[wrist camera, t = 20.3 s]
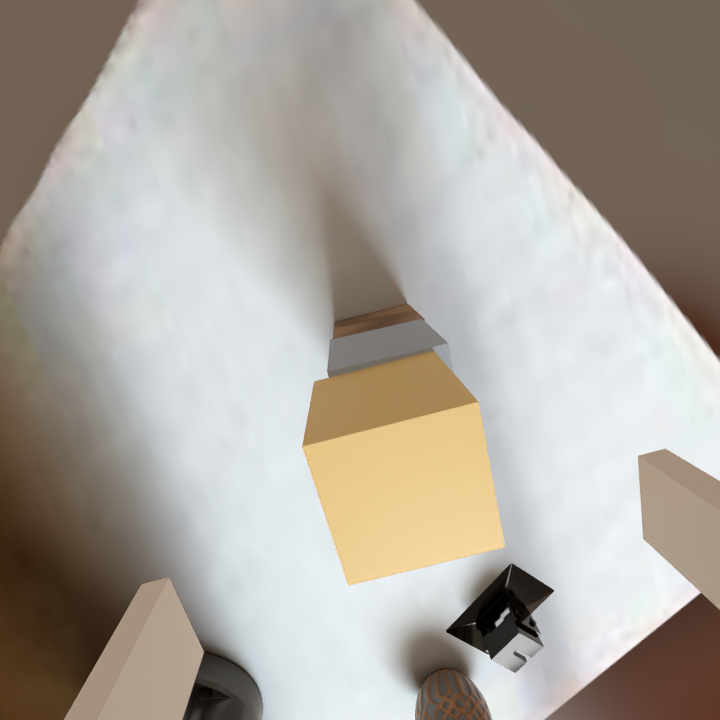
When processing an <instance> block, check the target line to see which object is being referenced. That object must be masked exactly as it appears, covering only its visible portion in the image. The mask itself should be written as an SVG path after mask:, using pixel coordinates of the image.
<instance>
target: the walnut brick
mask: <svg viewBox="0 0 720 720" xmlns="http://www.w3.org/2000/svg"><path fill="white" fill-rule="evenodd" d="M419 319H423V320H424V318H423V317H422V316H421V315H420V314H418V313H417V312H416V311H415V310H414V309H413V308H412V307H411V306H410V305H408V304H405V305H401V306H397V307H393V308H389V309H385V310H381V311H377V312H373V313H369V314H365V315H361V316H357V317H352V318H348V319H344V320H340V321H336V322H334V335H333V339H337V338H341V337H345V336H350V335H354V334H358V333H363V332H367V331H371V330H376V329H380V328H384V327H389V326H393V325H397V324H402V323H406V322H410V321H415V320H419ZM424 321H425V320H424Z"/></svg>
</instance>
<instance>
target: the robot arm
mask: <svg viewBox="0 0 720 720" xmlns="http://www.w3.org/2000/svg"><path fill="white" fill-rule="evenodd" d="M638 465H639V480H640V495H641V511H642V526H643V539H644V540H645V541H646V542H647V543H649V544H650V545H651V546H652V547H653V548H654V549H655V550H656V551H657V552H658V553H659V554H660V555H661V556H663V557H664V558H665V559H666V560H667V561H668V562H669V563H670V564H671V565H672V566H673V567H674V568H675V569H676V570H678V571H679V572H680V573H681V574H682V575H683V576H684V577H685V578H686V579H687V580H688V581H689V582H690V583H692V584H693V585H694V586H695V587H696V588H697V589H698V590H699V591H700V592H701V593H702V594H703V595H705V596H706V597H707V598H708V599H709V600H710V601H711V602H712V603H713V604H714V605H715V606H716V607H717V608H719V609H720V481H719V480H717V479H715V478H713V477H712V476H710V475H708V474H707V473H705V472H703V471H702V470H700V469H698V468H697V467H695V466H693V465H692V464H690V463H688V462H687V461H685V460H683V459H682V458H680V457H678V456H677V455H675V454H673V453H672V452H670V451H668V450H667V449H663V450H659V451H655V452H651V453H647V454H643V455H639V456H638ZM262 715H263V703H262V698H261V695H260V692H259V690H258V688H257V686H256V685H255V683H254V682H253V681H252V679H251V678H250V677H249V676H248V675H247V674H246V673H245V672H244V671H243V670H241V669H240V668H239V667H237V666H236V665H234V664H232V663H231V662H229V661H227V660H225V659H223V658H220V657H218V656H215V655H212V654H208V653H204V651H203V649H202V647H201V644H200V642H199V640H198V638H197V636H196V634H195V632H194V630H193V628H192V625H191V623H190V621H189V619H188V617H187V615H186V613H185V611H184V608H183V606H182V604H181V602H180V600H179V598H178V596H177V594H176V592H175V589H174V587H173V585H172V583H171V581H170V579H169V577H168V578H164V579H160V580H156V581H152V582H148V583H145V584H141V586H140V588H139V589H138V591H137V593H136V595H135V596H134V598H133V600H132V602H131V603H130V605H129V607H128V609H127V610H126V612H125V614H124V616H123V617H122V619H121V621H120V623H119V624H118V626H117V628H116V630H115V631H114V633H113V635H112V637H111V638H110V640H109V642H108V644H107V645H106V647H105V649H104V651H103V652H102V654H101V656H100V658H99V659H98V661H97V663H96V665H95V666H94V668H93V670H92V672H91V673H90V675H89V677H88V679H87V680H86V682H85V684H84V686H83V687H82V689H81V691H80V693H79V694H78V696H77V698H76V700H75V701H74V703H73V705H72V707H71V708H70V710H69V712H68V714H67V715H66V717H65V719H64V720H262Z"/></svg>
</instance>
